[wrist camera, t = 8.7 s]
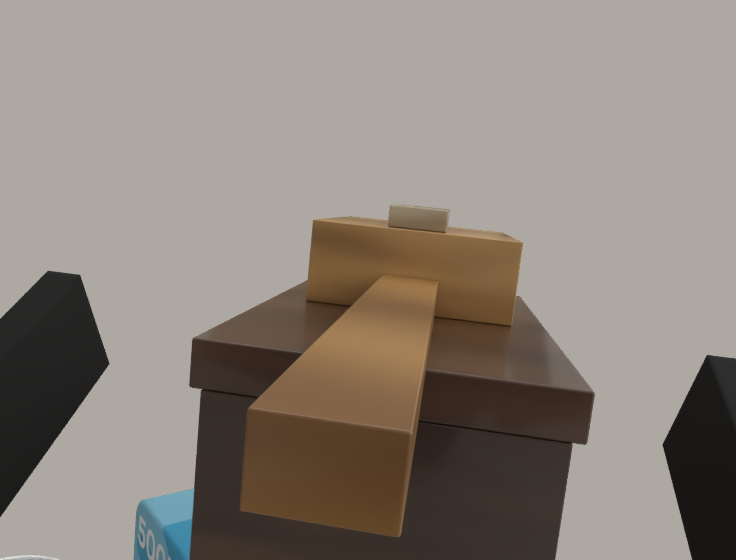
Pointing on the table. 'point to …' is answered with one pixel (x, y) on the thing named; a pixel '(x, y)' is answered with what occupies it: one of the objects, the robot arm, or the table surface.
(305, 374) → the wooden box with handle
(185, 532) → the data package
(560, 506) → the dark wooden cabinet
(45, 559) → the white cup
